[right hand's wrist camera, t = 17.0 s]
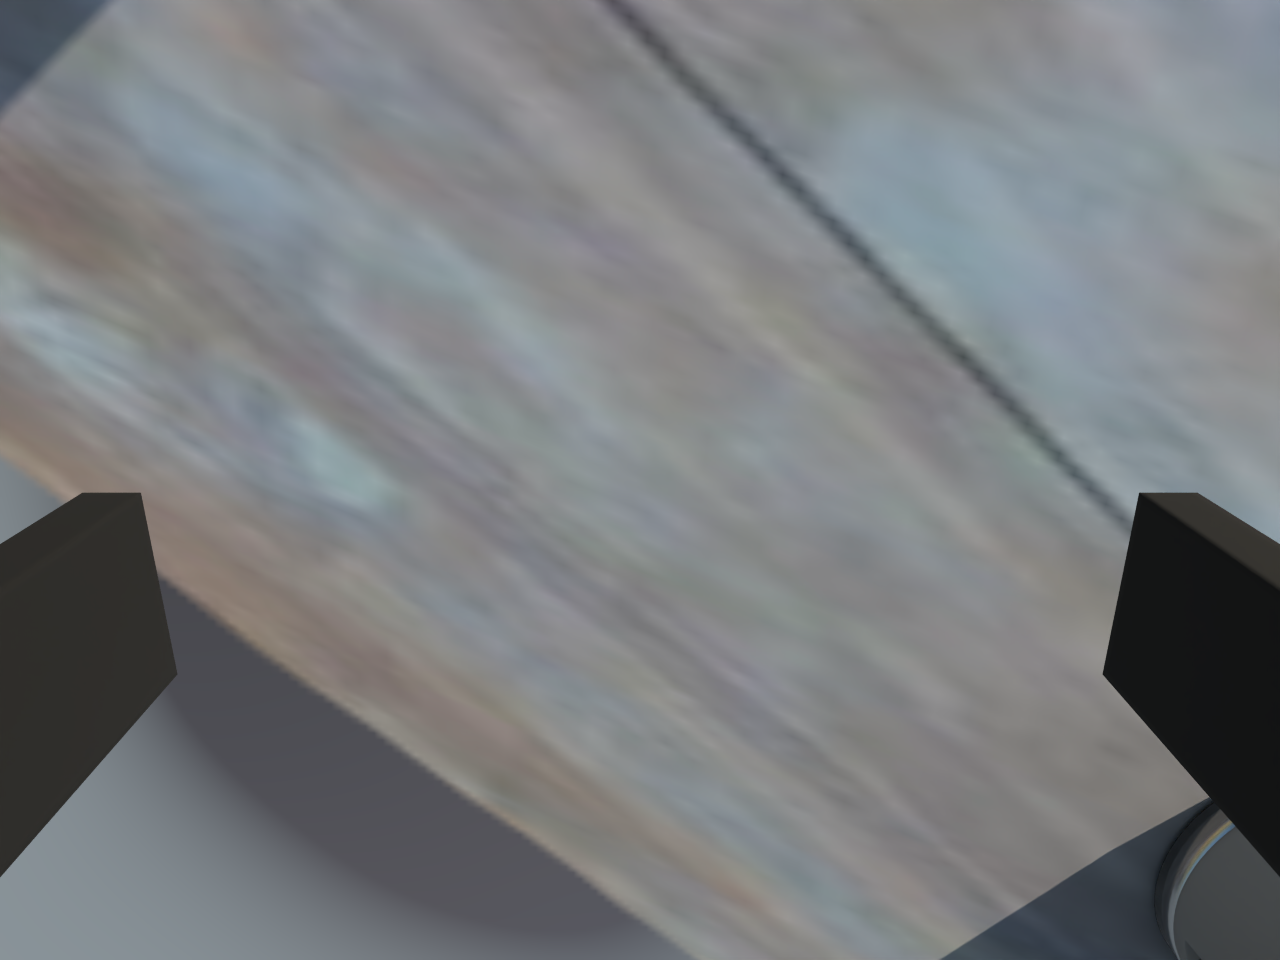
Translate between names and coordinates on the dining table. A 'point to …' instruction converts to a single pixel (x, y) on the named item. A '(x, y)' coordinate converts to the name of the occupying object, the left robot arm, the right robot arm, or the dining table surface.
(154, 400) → the dining table surface
